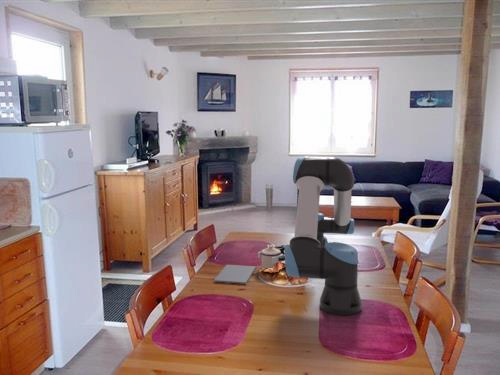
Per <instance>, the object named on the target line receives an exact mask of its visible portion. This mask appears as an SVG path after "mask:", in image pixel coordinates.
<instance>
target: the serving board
mask: <svg viewBox="0 0 500 375" xmlns="http://www.w3.org/2000/svg"><path fill="white" fill-rule="evenodd" d="M256 269H257V266H255V265H254V266H253V265H241V264H239V265H238V264H225V266H224V267H223V268H222V270H221V271H219V273H218V274H217V276H216V277H215V278H214V279H213V280H214V281H213V282H214V283H216V282H226V283H225V284H230V283H240V284H239V285H243V284H246V283H247V282H248V283H249V281H250V279H251V278H252V276H253V274H254V273H253V272H256V271H255V270H256ZM250 277H251V278H250ZM248 280H249V281H248ZM248 283H247V284H248ZM247 284H246V285H247Z"/></svg>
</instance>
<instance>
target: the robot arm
mask: <svg viewBox="0 0 500 375" xmlns="http://www.w3.org/2000/svg"><path fill="white" fill-rule="evenodd" d="M293 166H294V167H293V174H292V181H293V184H295V186H296V188H297V189H298V196H297V197H298V198H297V207H296V216H295V217H296V218H295V225H294V236H292V237H291V239H290V240H289V244H286V245H285V244H282V245H279V246H278V245H276V246H273V247H274V248H276V249H279V250H280V251H281V254H280V255H279V256H275V257H272V263H277V262H280V263H281V262H283V261H285V262H284V264H285V265H284V266H285V271H286V275H287V276H288V277H293V278H294V277H295V278H298V279H301V278H302V279H317V280H318V279H319V280H324V287H323V290H322V292H321V295H320V297H319V298H320V299H319V307H320V308H321V310H323V311H324V312H326V313H328V314H331V315H336V316H352V315H356V314H358V313H359V312H361V311H362V305H363V304H362V303H363V302H362V299H361V296H360V293H359V289H358V275H359V274H358V270H359V268H358V265H359V262H360V261H359V253H358V250H357V249H356V248H355V247H353V246H352V245H350V244H347V243H344V242H338V241H334V242H333V241H332V242H331V241H330V242H329V241H328V238H327V237H326V236H325V235H324V234H334V235H335V234H339V235H353V234H354V233H355V219H354V218H351V214H352V212H351V211H352V190H353V188H354V186H355V177H354V176H355V175H354V173H353V170H352V169H351V168H350V166H349V165H348V164H347V163H346V162H345V161H343V160H342V159H341V158H338V157H334V156H307V155H306V156H300V157H297V159H296V160H295V162H294V165H293ZM325 185H328V186H329V185H330V186H331V188H333V217H325V214H324V213H321V212H320V198H321V197H320V196H321V191H322V190H324V188H325ZM257 258H258V259H262V258H261V251H258V252H257Z"/></svg>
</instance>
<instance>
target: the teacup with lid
mask: <svg viewBox="0 0 500 375" xmlns="http://www.w3.org/2000/svg"><path fill="white" fill-rule="evenodd" d="M274 247H275V246H274V245H271V244H270V245H268V247H266V248H264V249H261V251H260V252H261V258H260V259H261V270H262V269H263V268H273V267H274V266H275V264H276V263H272V257H275V256H279V255H282V254H281V251H280V250H279V249H276V248H274Z"/></svg>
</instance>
